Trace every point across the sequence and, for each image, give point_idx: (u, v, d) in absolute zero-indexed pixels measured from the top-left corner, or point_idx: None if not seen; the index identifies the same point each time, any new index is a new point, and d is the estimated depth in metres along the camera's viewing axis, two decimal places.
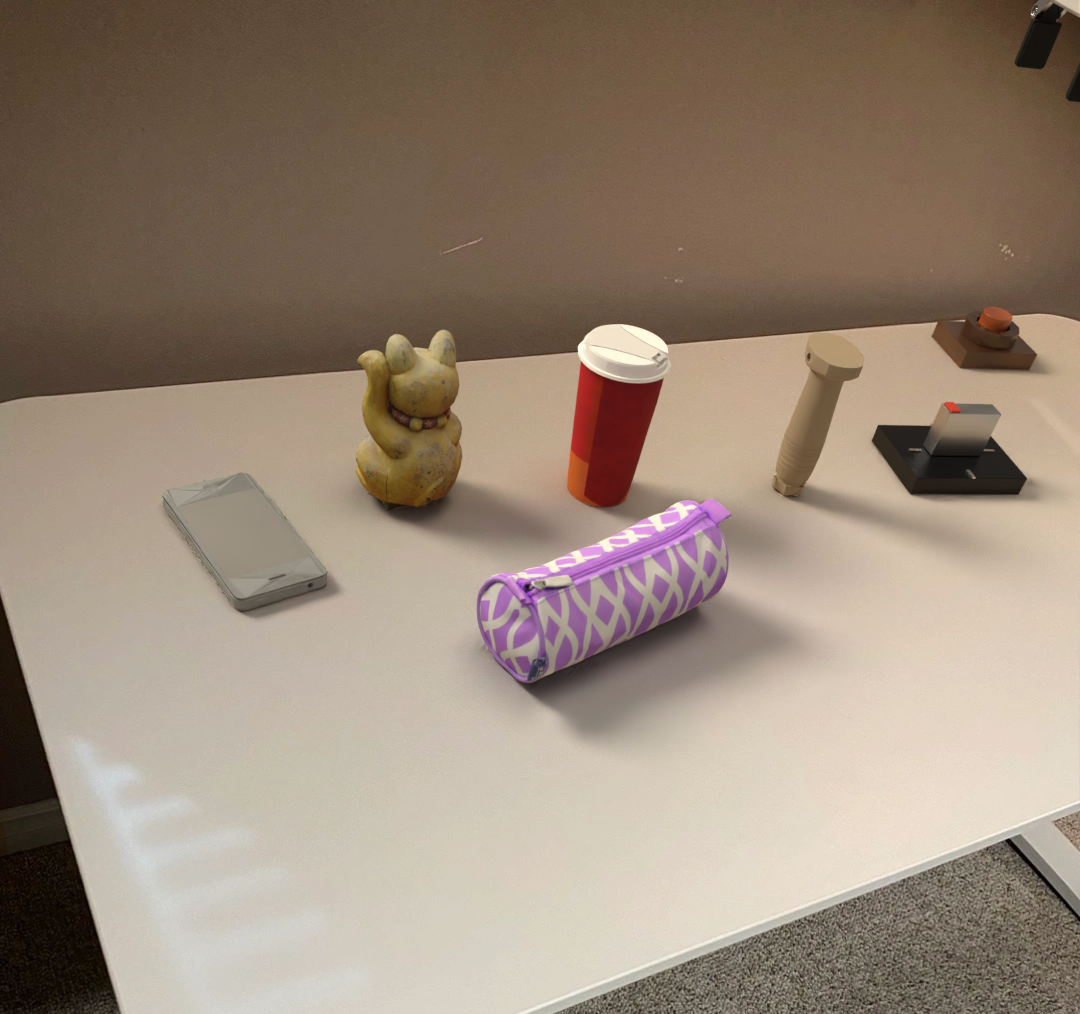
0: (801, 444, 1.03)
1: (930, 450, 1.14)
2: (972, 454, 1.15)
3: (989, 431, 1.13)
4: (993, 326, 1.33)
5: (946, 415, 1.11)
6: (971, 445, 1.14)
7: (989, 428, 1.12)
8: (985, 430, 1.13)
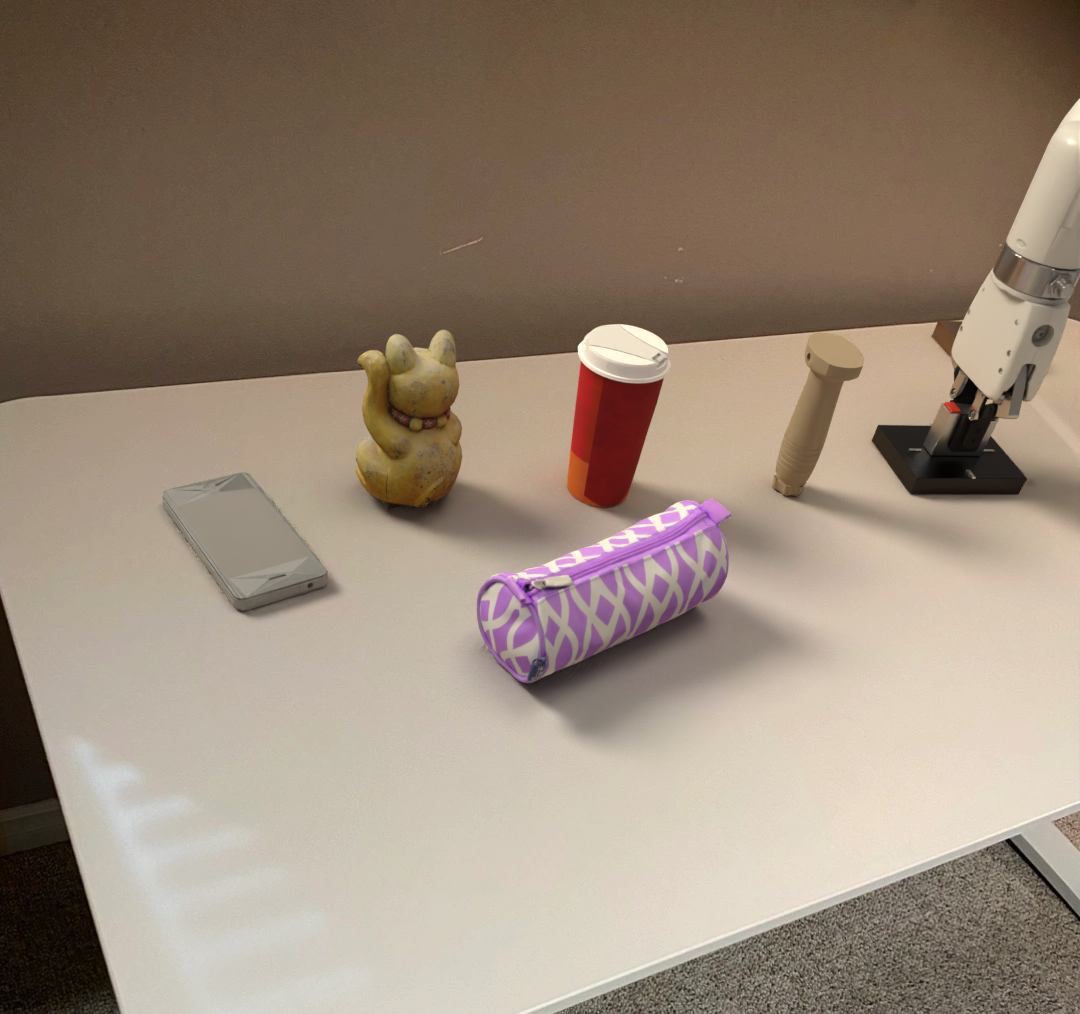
0: (801, 444, 1.03)
1: (930, 450, 1.14)
2: (972, 454, 1.15)
3: (989, 431, 1.13)
4: None
5: (946, 415, 1.11)
6: None
7: (989, 428, 1.12)
8: None
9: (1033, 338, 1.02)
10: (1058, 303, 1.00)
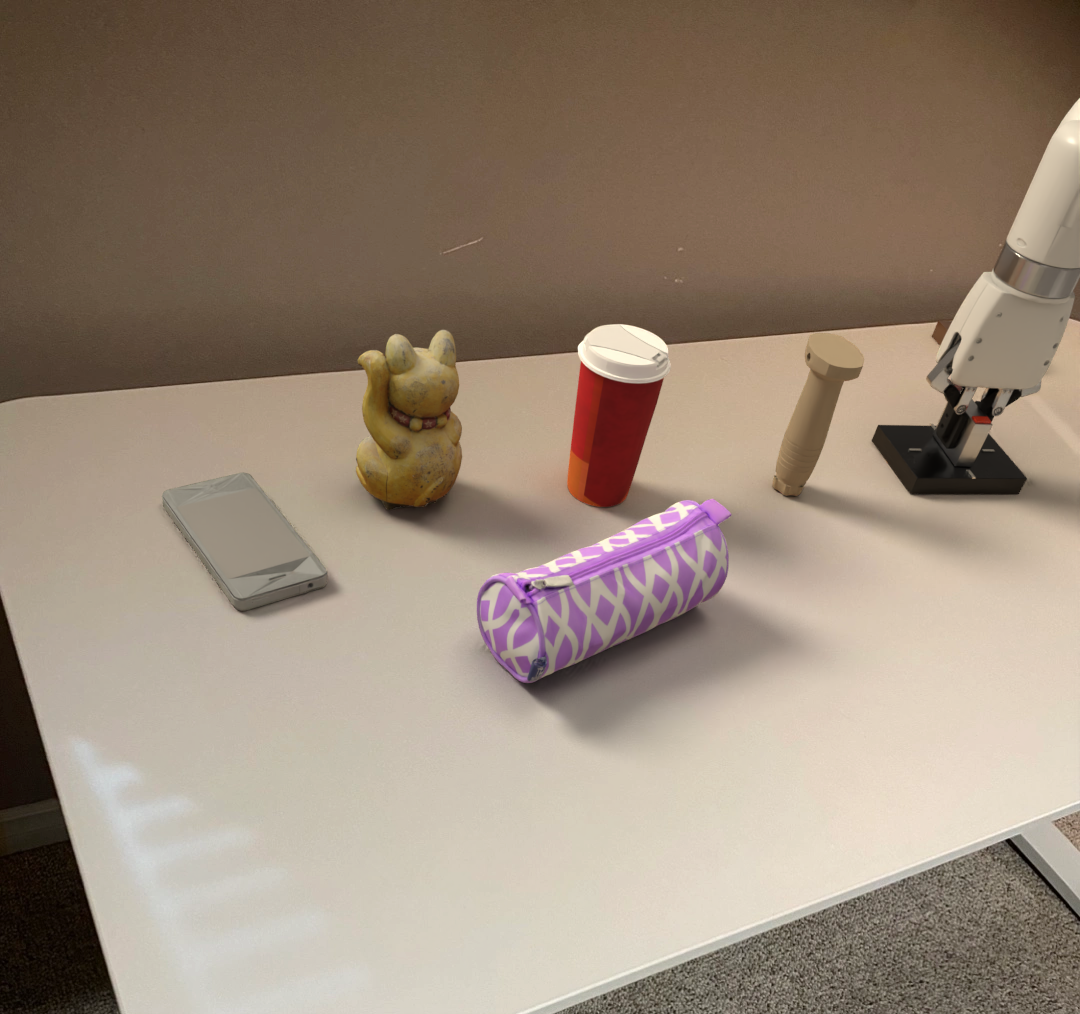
0: (801, 444, 1.03)
1: (969, 463, 1.13)
2: None
3: None
4: None
5: (986, 429, 1.10)
6: None
7: None
8: None
9: None
10: None
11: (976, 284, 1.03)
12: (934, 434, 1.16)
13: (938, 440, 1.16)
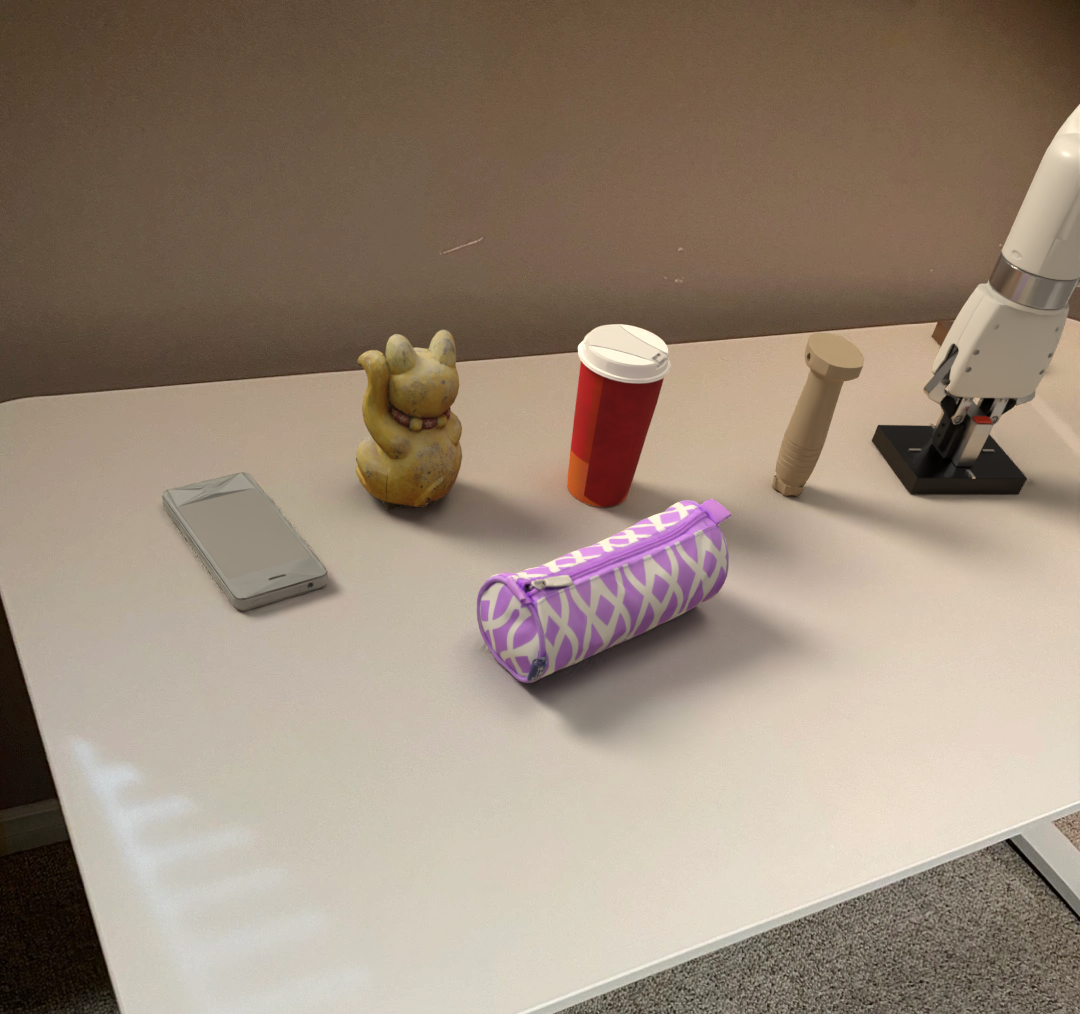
0: (801, 444, 1.03)
1: (970, 463, 1.13)
2: None
3: None
4: None
5: (987, 429, 1.10)
6: None
7: None
8: None
9: None
10: None
11: (972, 296, 1.03)
12: (933, 434, 1.16)
13: None
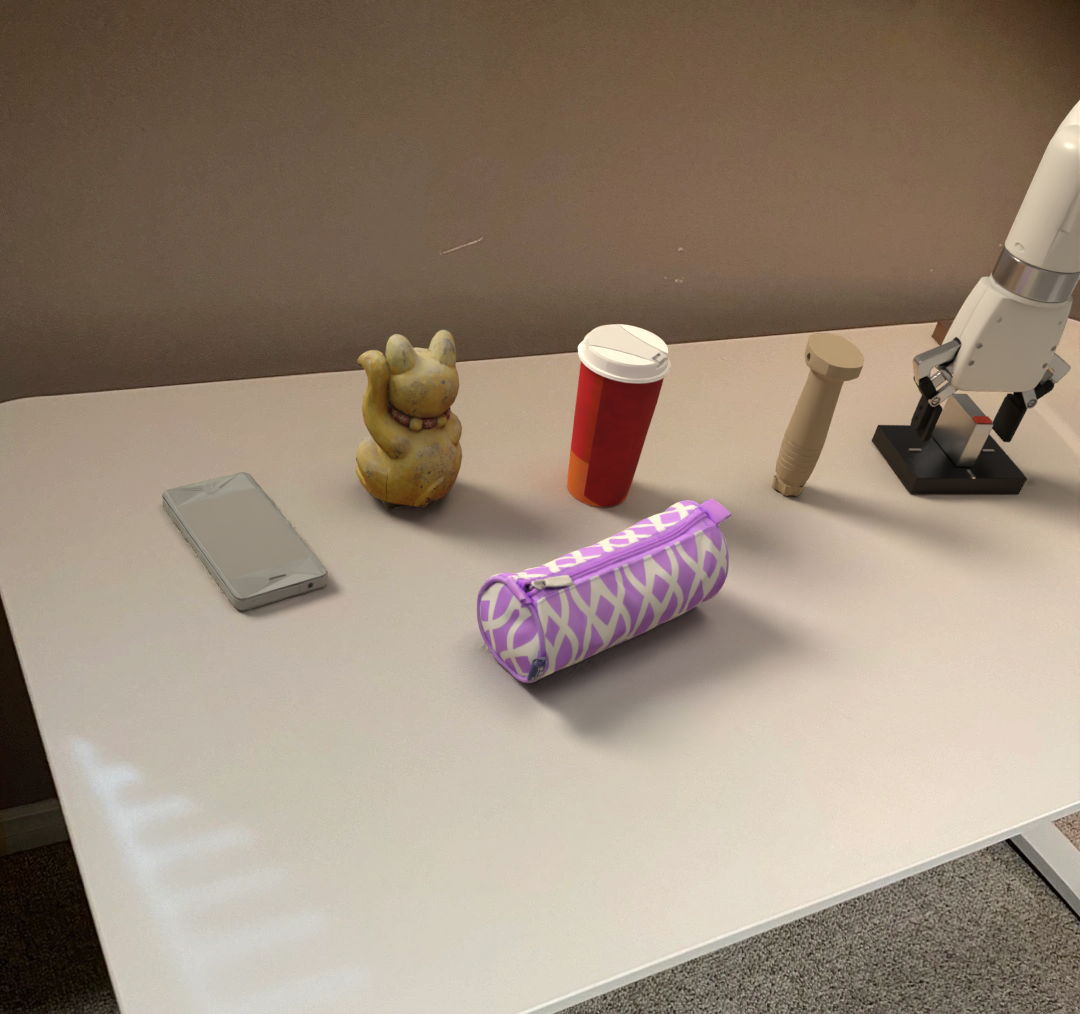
0: (801, 444, 1.03)
1: (970, 463, 1.13)
2: None
3: None
4: None
5: (987, 429, 1.10)
6: None
7: None
8: None
9: None
10: None
11: (975, 289, 1.03)
12: (933, 434, 1.16)
13: (938, 440, 1.16)
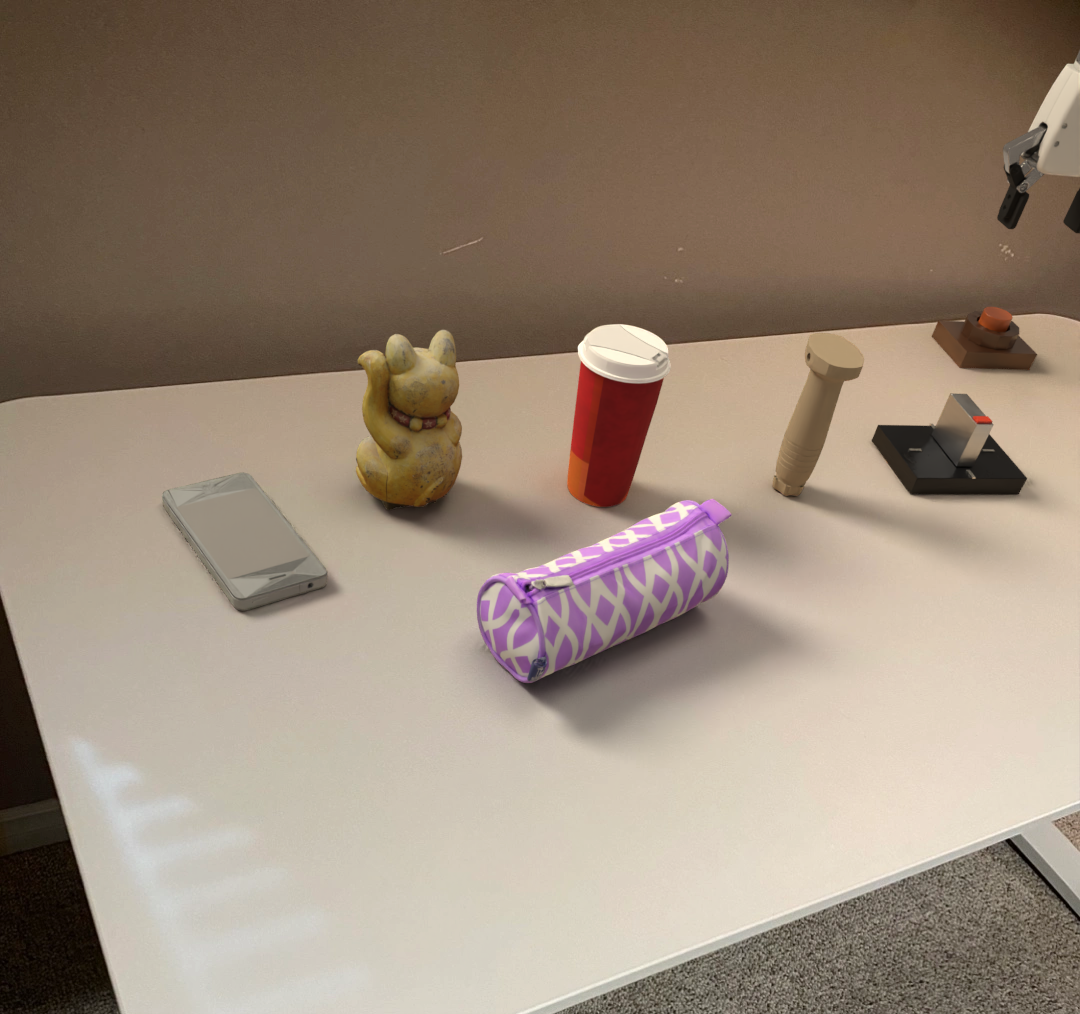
0: (801, 444, 1.03)
1: (970, 463, 1.13)
2: None
3: None
4: (993, 326, 1.33)
5: (987, 429, 1.10)
6: None
7: None
8: None
9: None
10: None
11: (1061, 74, 1.15)
12: (933, 434, 1.16)
13: (938, 440, 1.16)
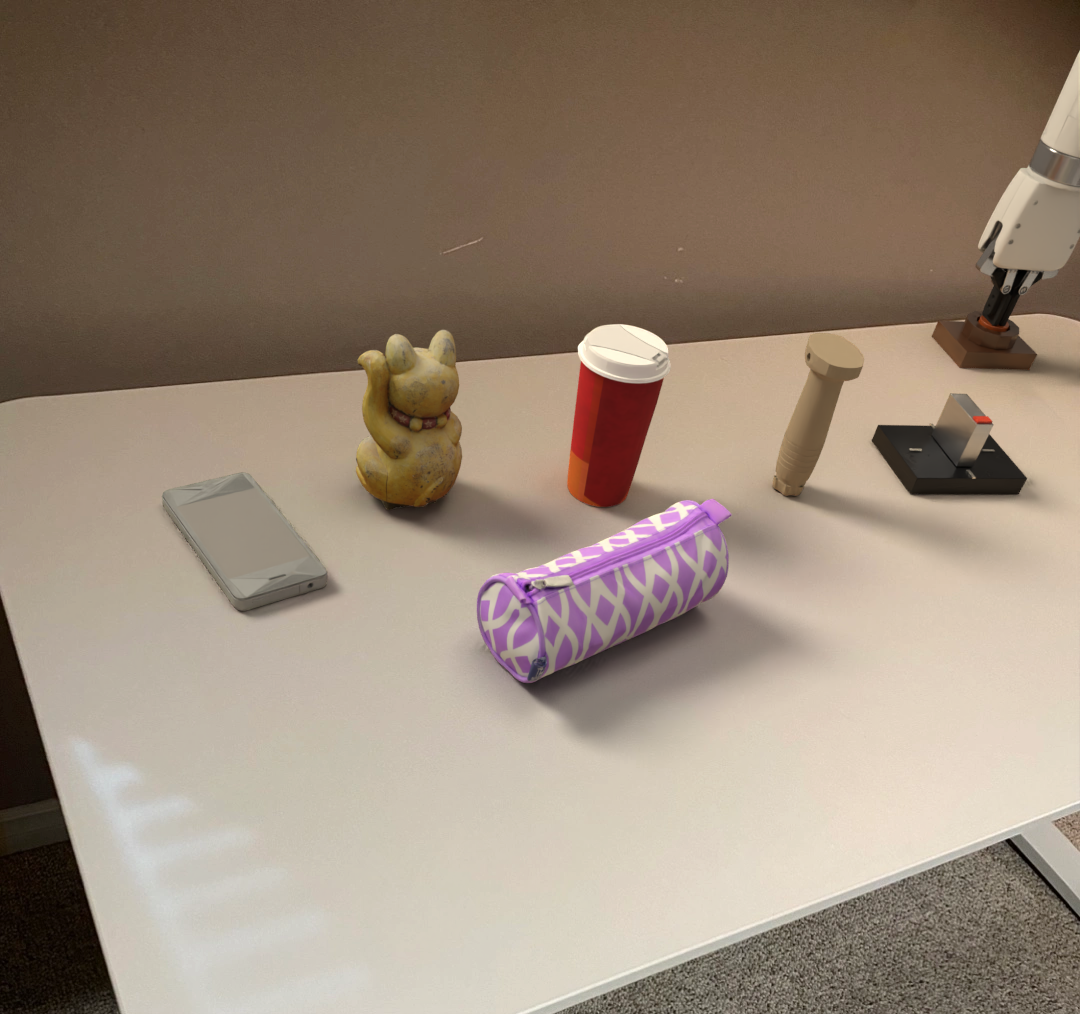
0: (801, 444, 1.03)
1: (970, 463, 1.13)
2: None
3: None
4: None
5: (987, 429, 1.10)
6: None
7: None
8: None
9: None
10: None
11: (1015, 178, 1.23)
12: (933, 434, 1.16)
13: (938, 440, 1.16)
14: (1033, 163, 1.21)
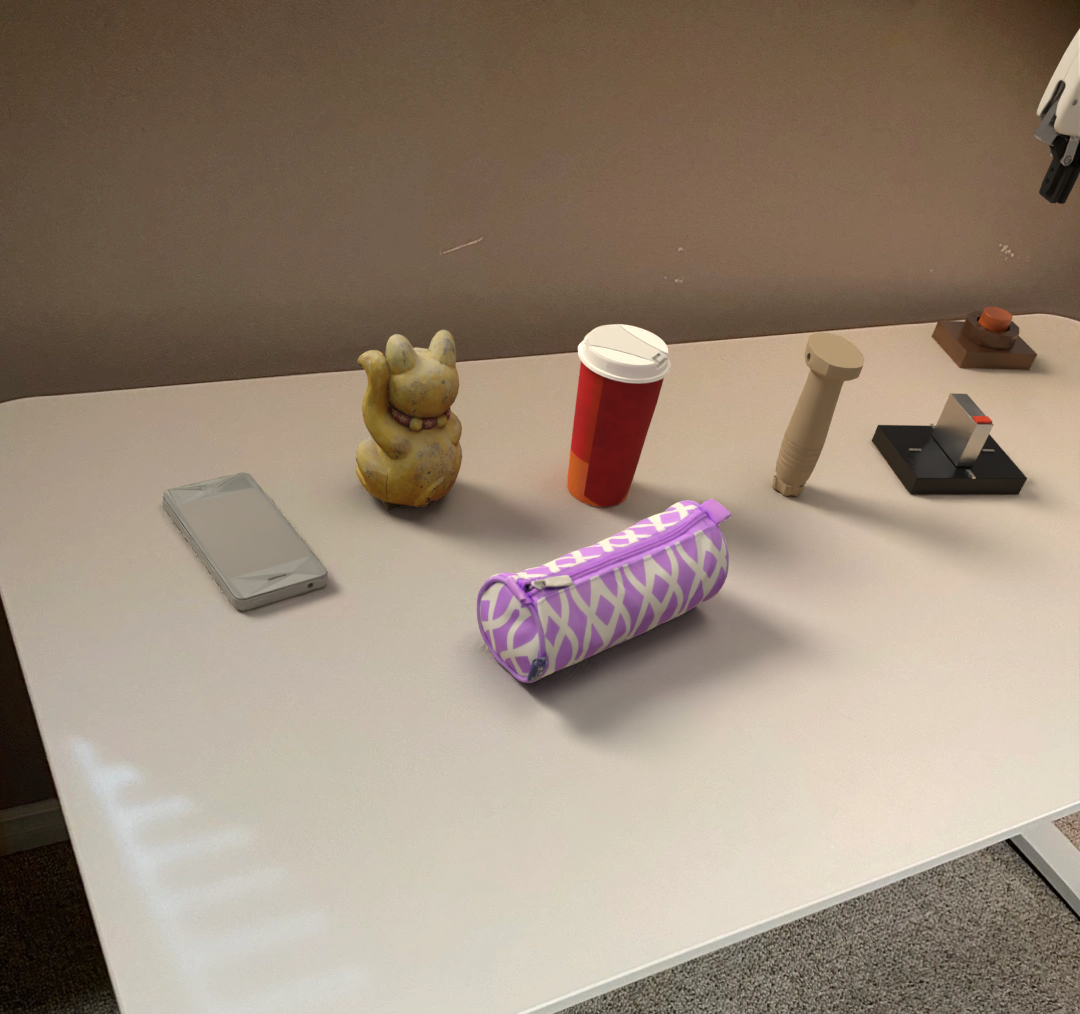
0: (801, 444, 1.03)
1: (970, 463, 1.13)
2: None
3: None
4: (993, 326, 1.33)
5: (987, 429, 1.10)
6: None
7: None
8: None
9: None
10: None
11: (1079, 31, 1.12)
12: (933, 434, 1.16)
13: (938, 440, 1.16)
14: None
